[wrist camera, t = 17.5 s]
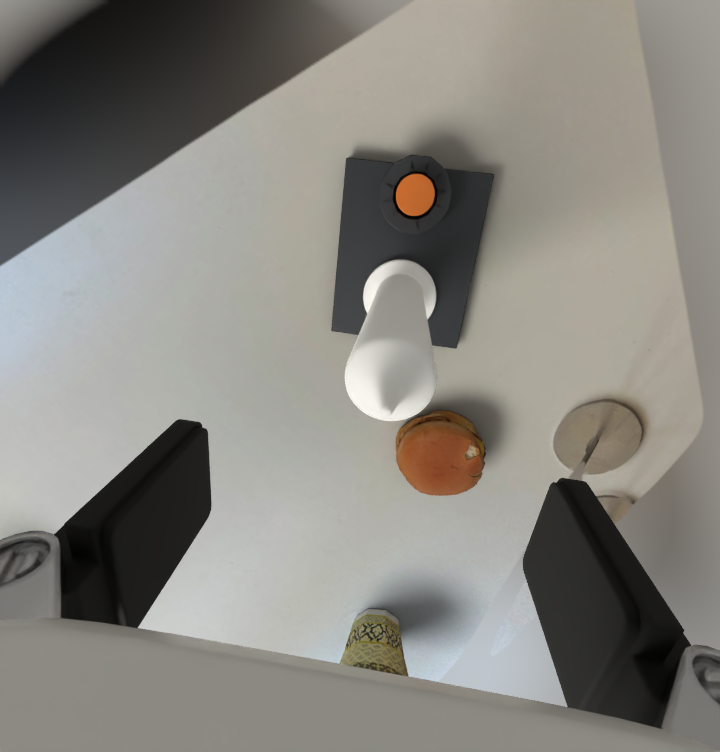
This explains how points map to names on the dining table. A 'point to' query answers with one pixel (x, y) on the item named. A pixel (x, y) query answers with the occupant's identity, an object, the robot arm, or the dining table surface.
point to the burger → (440, 453)
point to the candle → (394, 344)
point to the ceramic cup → (375, 643)
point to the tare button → (415, 194)
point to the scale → (409, 238)
